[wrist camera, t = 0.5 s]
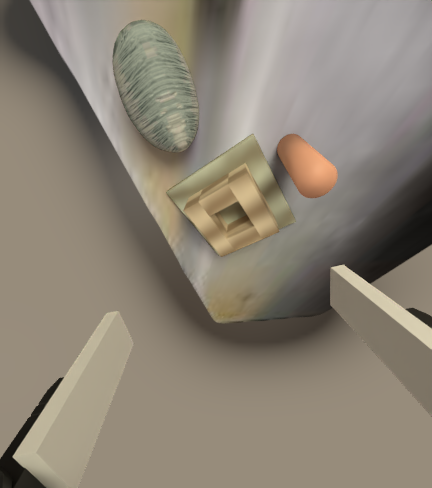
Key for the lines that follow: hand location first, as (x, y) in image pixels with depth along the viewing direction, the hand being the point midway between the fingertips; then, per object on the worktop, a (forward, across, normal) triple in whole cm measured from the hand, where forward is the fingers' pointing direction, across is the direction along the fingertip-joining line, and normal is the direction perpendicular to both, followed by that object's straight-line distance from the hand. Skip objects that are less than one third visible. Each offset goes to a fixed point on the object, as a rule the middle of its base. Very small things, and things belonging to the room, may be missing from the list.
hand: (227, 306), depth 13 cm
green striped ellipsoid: (+26, -3, +18) cm, 32 cm away
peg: (+25, +14, +8) cm, 30 cm away
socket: (+29, +4, 0) cm, 30 cm away
